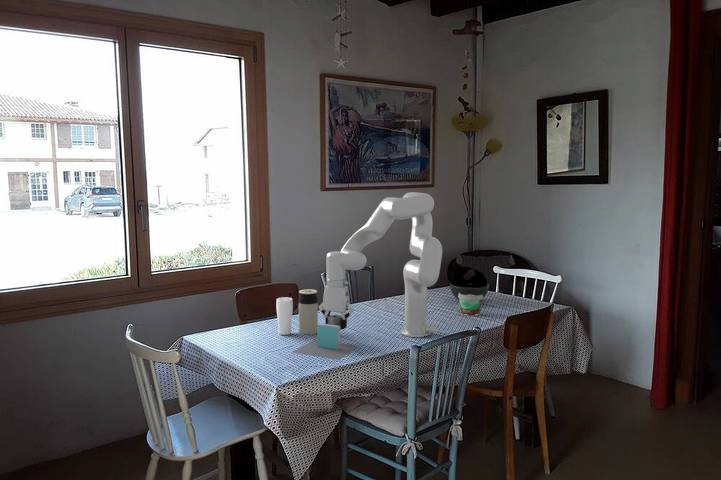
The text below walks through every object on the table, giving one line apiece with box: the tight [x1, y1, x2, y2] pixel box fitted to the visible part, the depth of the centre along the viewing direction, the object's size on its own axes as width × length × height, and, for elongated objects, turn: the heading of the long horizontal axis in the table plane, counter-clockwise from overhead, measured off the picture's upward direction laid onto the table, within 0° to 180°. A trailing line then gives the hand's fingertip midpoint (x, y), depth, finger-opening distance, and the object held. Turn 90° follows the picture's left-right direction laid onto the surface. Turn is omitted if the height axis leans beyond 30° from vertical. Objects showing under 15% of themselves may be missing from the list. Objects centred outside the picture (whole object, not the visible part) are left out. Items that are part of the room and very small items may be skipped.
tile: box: [316, 322, 341, 350], centre depth 229 cm, size 9×2×9 cm, turn 66°
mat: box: [292, 339, 360, 361], centre depth 228 cm, size 20×18×1 cm
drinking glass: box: [276, 296, 294, 336], centre depth 248 cm, size 7×7×15 cm
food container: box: [458, 292, 485, 315], centre depth 282 cm, size 12×6×10 cm, turn 68°
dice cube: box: [327, 313, 343, 331], centre depth 234 cm, size 5×5×5 cm
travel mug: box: [298, 288, 319, 335], centre depth 250 cm, size 8×8×18 cm
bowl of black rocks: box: [449, 266, 490, 302], centre depth 305 cm, size 20×20×19 cm
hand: (336, 327), depth 234 cm, fingers closed on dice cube, 6 cm apart
